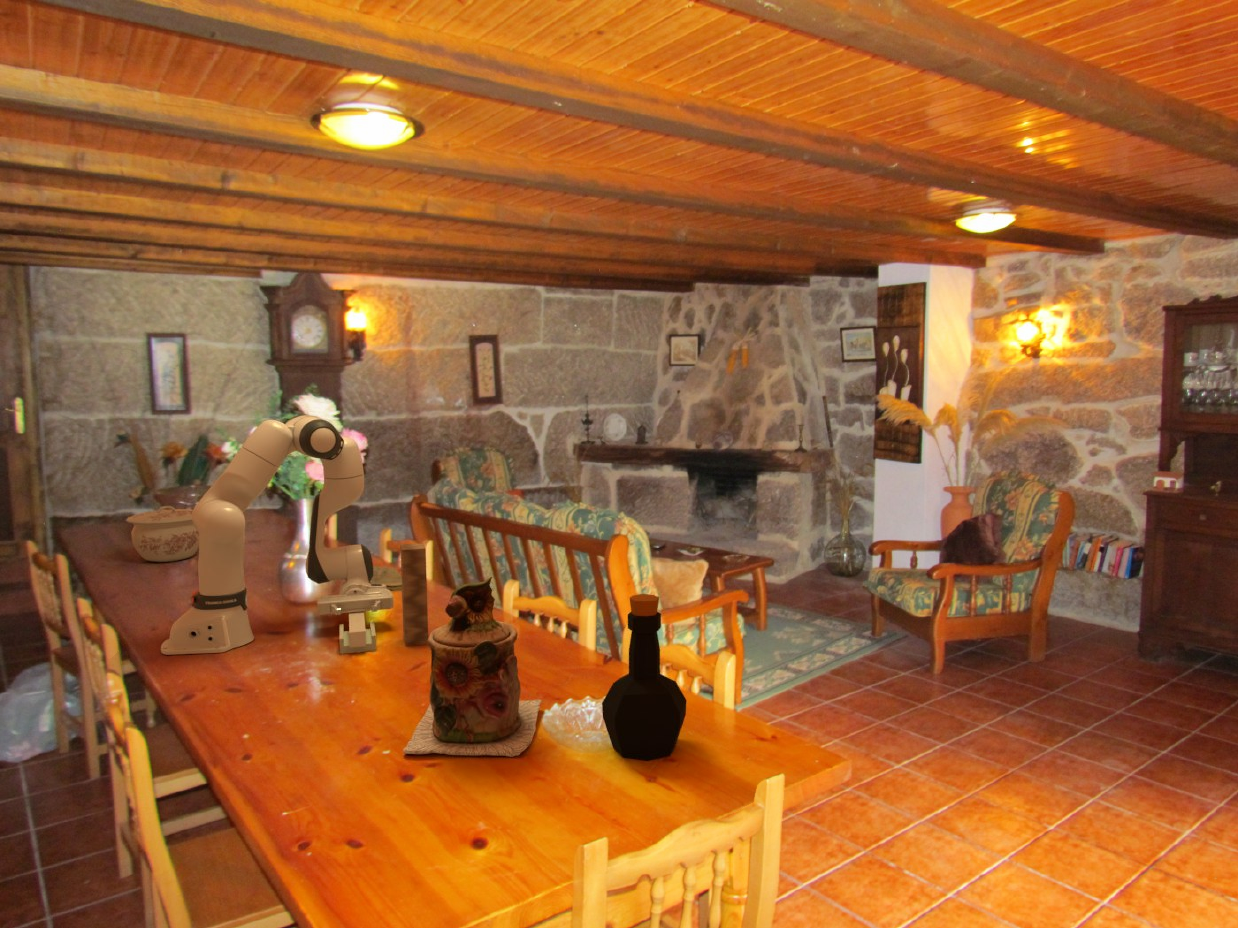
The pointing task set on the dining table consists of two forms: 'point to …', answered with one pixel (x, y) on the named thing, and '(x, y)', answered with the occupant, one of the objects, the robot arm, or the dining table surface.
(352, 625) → the beige rectangular bar
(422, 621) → the plinth
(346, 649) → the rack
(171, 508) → the chamber pot
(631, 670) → the bottle
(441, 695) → the cookie jar
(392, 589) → the stone slab
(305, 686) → the dining table surface
